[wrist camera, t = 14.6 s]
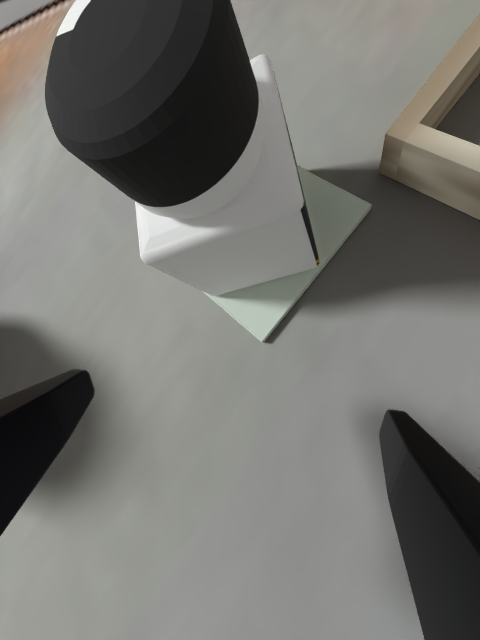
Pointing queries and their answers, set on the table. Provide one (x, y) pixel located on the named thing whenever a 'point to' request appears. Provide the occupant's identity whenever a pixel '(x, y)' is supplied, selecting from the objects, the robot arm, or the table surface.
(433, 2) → the table surface
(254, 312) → the sage mat
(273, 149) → the medicine bottle
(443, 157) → the birch box
